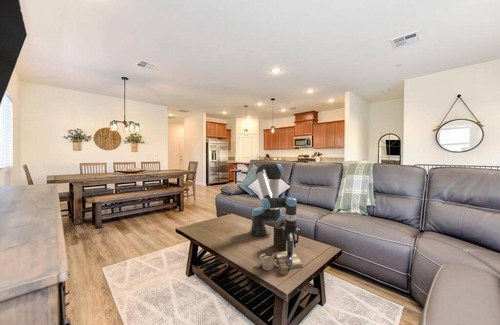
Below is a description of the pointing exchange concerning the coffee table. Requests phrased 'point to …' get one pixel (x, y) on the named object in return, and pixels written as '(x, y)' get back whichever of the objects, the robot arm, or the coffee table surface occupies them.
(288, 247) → the lever
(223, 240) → the coffee table surface
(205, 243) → the coffee table surface
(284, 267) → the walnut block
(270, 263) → the beige animal figurine
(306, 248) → the coffee table surface
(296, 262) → the board
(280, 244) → the wooden container
